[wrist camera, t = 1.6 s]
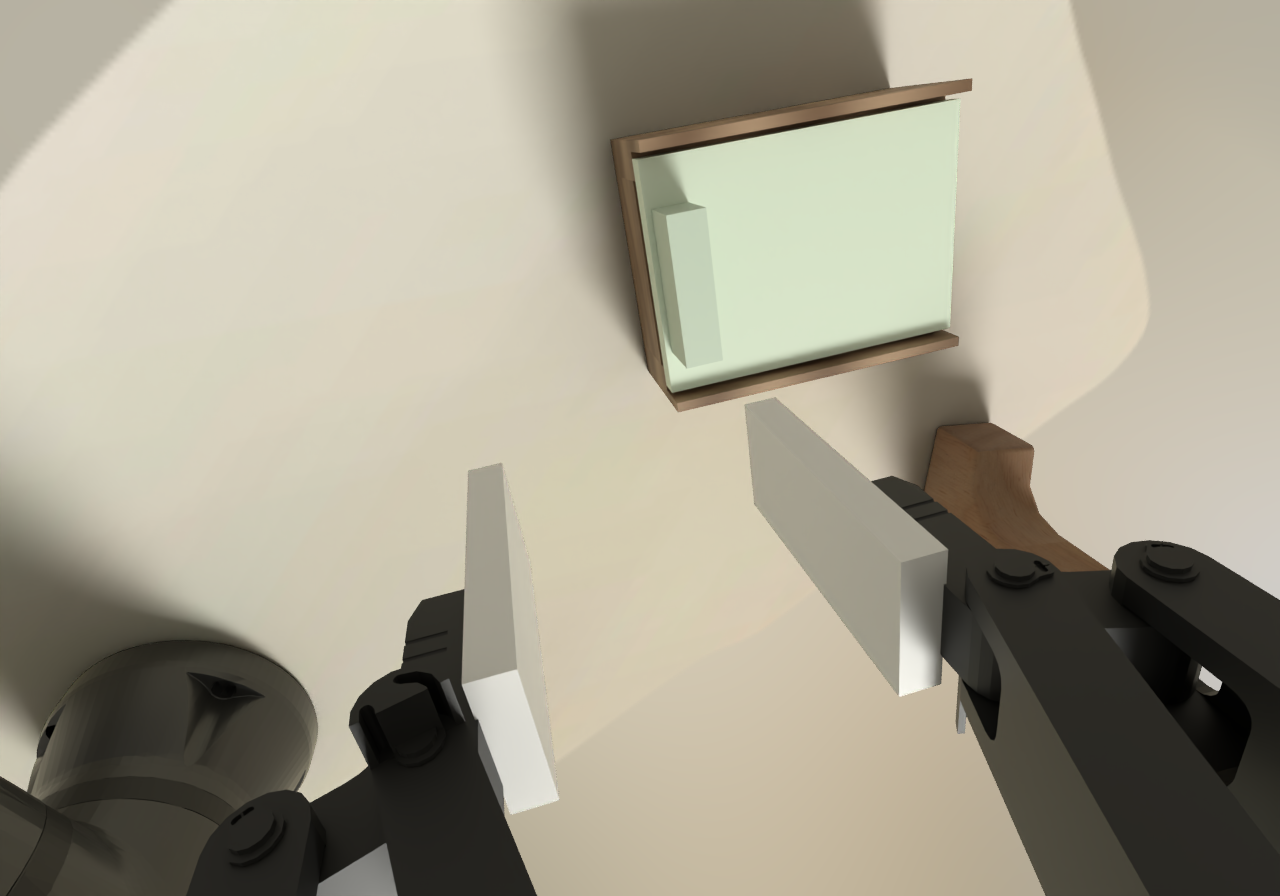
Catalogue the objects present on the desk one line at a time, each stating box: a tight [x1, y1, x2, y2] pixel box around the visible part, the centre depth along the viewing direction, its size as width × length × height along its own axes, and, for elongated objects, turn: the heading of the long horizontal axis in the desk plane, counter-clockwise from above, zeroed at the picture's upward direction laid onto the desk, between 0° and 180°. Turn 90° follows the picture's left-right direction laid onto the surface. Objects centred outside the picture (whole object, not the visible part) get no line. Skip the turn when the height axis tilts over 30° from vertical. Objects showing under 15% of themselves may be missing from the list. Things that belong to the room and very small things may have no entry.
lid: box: [632, 99, 960, 393], centre depth 33 cm, size 16×11×4 cm
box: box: [610, 79, 972, 412], centre depth 36 cm, size 16×13×7 cm
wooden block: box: [924, 423, 1109, 572], centre depth 42 cm, size 9×4×18 cm, turn 179°
